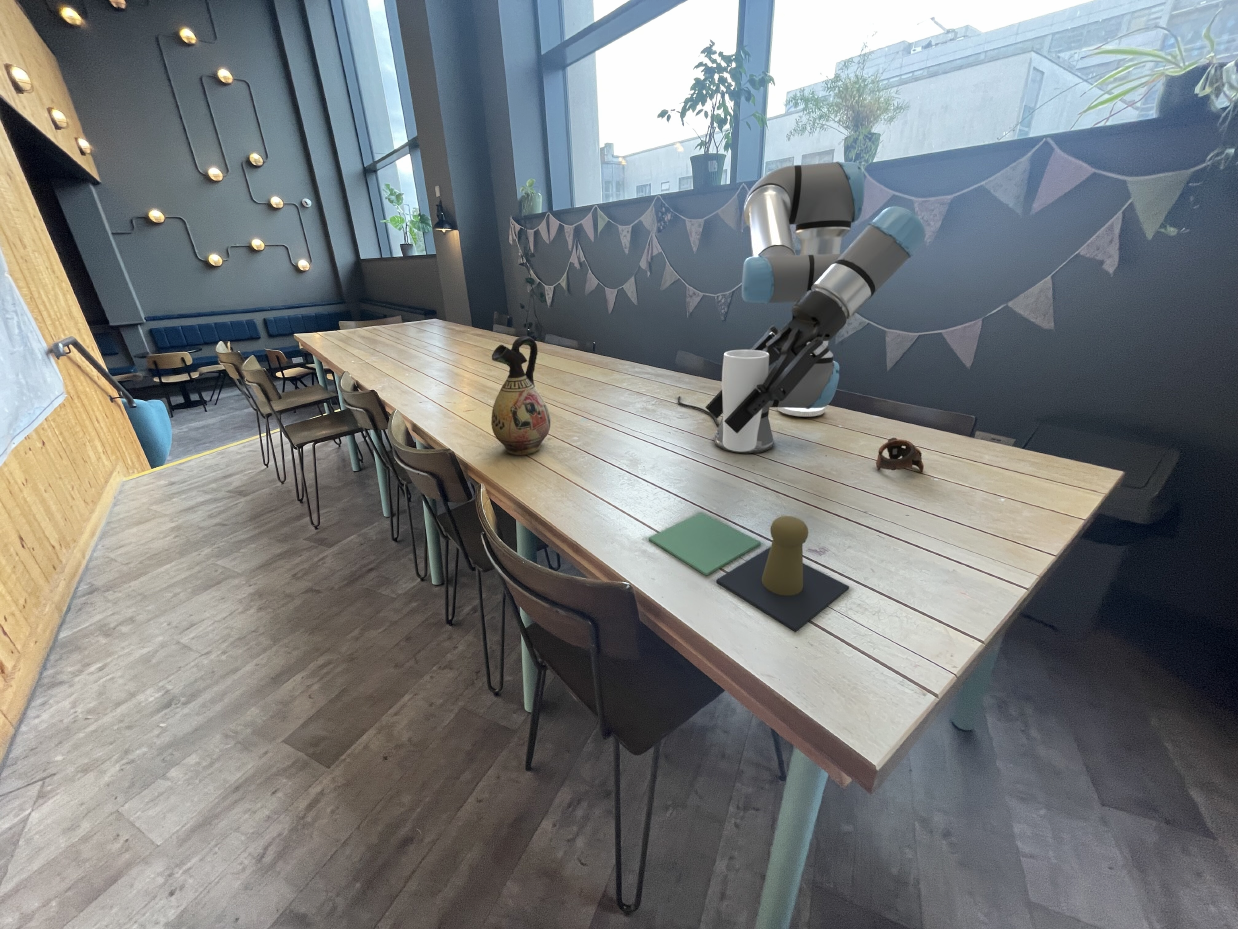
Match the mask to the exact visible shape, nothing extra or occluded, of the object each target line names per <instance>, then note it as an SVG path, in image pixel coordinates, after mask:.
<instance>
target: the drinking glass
mask: <svg viewBox="0 0 1238 929" xmlns="http://www.w3.org/2000/svg"><path fill="white" fill-rule="evenodd" d="M721 370H722V371H721V390H722V401H723V413H722V417H723V445H724V446H725V447H726V448H727V449H729V450H733V451H740V452H743V451H750V450H752V449H754V448H755V447H756V445H757V436H758V429H759V424H760V418H761V413H762V409H761V410H760V411H759V412H758V413H757V414H756V415H755V416H754V417H753V418H752V419H751V420H750V421H749V422H748V423H747V424H746V425H745V426H744V427H743V428H742V429H741V430H740V431H739V432H738V433H736V432H734V431H733V430H732V429H731V428H730V427H729V426H728V425H727V424H726V423H725V422H724V421H725V420H726V419H727V418H728V416H729V415H730V414H731V413H732V412H733V411H734V410H735V409H736V408H737V407H738V406H739V405H740V404H741V403H742V402H743V401H744V400H745V398H746V397H747V396H748V395H749V394H750V393H751V392H752V391H753V390H754V389H757V390H758V391H759V392H761V391H760V390H759V389H758V388H757V385H760V384H763V383H764V381H765V380H766V378H767V377H768V371H769V353H767V352H764V351H758V350H750V349H734V350H728V351H725V352H724V354H723V360H722V369H721Z"/></svg>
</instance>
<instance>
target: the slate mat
mask: <svg viewBox="0 0 1238 929" xmlns="http://www.w3.org/2000/svg"><path fill="white" fill-rule="evenodd" d="M770 548H771V546H769V547H768V548H766V549H765V550H763V551H761V552H759V553H758V554H756V555H755V556H753V557H751V558H750V559H748V560H747V561H745V562H743V563H741V564H740V565H738V566H737V567H734V568H733V569H731V570H730V571H727V573H725V574H723V575H721V576H719V577H718V578H717V579H716V580H715V582H716V584H718V585H720V586H721V587H723V588H725V589H726V590H728V591H729V592H731V593H733V594H735V596H738V597H739V598H741V599H742V600H744V601H746V602H747V603H749V604H750V605H752V606H753V607H755V608H757V609H758V610H759V611H762V612H763V613H765V614H766V615H768V616H769V617H771V618H773V619H774V620H775V621H777V622H778V623H781V624H782V625H784V626H785V627H787V628H788V629H790V630H792V631H793V632H797V631H799V630H800V629H801V628H803V627H804V626H805V625H806V624H807V623H809V622H810V621H811V620H812V619H813V618H814V617H816V616H817V615H819V614H820V613H821V612H822V611H824V610H825V609H826V608H827V607H828V606H829V605H831V604H833V602H835V600H837V599H839V598H840V597H841V596H842V595H844V593H845V592H847V591H848V590H850V586H849V585H847V584H845V583H844V582H841V581H839V580H837V579H835V578H833V577H832V576H829V575H828V574H826V573H824V572H822V571H819V570H817V569H815V568H813V567H811V566H809V565H807V564H806V563H804V562H803V588H802V591H801V592H799V593H798V594H795V595H790V596H785V595H779V594H776V593H773V592H771V591H769V590H768V589H767V588H766V587H765V586H764V585H763V583H762V576H763V573H764V569H765V566H766V562H767V559H768V555H769V552H770Z"/></svg>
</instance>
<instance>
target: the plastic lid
mask: <svg viewBox="0 0 1238 929" xmlns="http://www.w3.org/2000/svg"><path fill="white" fill-rule="evenodd" d="M825 409H826V406H825V407H823V408H810V409H806V408H777V410H778V412H780V413H782V414H786V415H789V416H795V417H816V416H821V415H823V414H825Z"/></svg>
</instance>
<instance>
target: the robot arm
mask: <svg viewBox="0 0 1238 929" xmlns="http://www.w3.org/2000/svg"><path fill="white" fill-rule="evenodd" d="M864 202H865V176H864V171H863V170H862V167H861V166H860V164H858V163H857V162H853V161H833V162H831V161H830V162H820V163H809V164H808V163H807V164H795V165H794V164H790V165H784V166H781V167H778V168H775V169H773V170H771V171H769V172H768V173H766V174H765V175H763V176H762V177H760V179H759V180H758V181H757V182H756V183H754V184H753V186H752V187H751V189H750V190H749V192H748V193H747V196H746V198H745V200H744V204H743V216H744V222H745V223H746V225H747V227H748V228H749V233H750V247H751V248H750V250H751V256H749V257H748V258H745V260H744V261H743V266H742V275H741V278H742V279H741V299H742V300H743V302H746V303H757V304H762V305H765V304H776V303H777V304H778V303H781V304H782V303H794V305H793V306H792V308H791V315H792V316H791V317H792V318H791V320H790V321H789V322H787V323H786V324H784V326H783V327H781V328H777V327H776V326H775V325H772V326H770V327H769V328H768V329H767V330H766V332H765V333H764V335H763V336H762V337H761V338H760V339H759V340H758V341H757V342H756V343H755V344H754V345H753V346H752V347H751V348H750V349H749V350H758V351H764V352H767V353H769V371H768V377H767V378H766V380H765V381H764V383H763V384H760V385H757V388H758V389H759V390H760V391H761V392H759V391H758V390H757V389H754V390H753V391H752V392H751V393H750V394H749V395H748V396H747V397H746V398H745V400H744V401H743V402H742V403H741V404H740V405H739V406H738V407H737V408H736V409H735V410H734V411H733V412H732V413H731V414H730V415H729V416H728V418H727V419H726V420H725V421H724V422H725V423H726V424H727V425H728V426H729V427H730V428H731V429H732V430H733V431H734V432H736V433H738V432H739V431H740V430H741V429H742V428H743V427H744V426H745V425H746V424H747V423H748V422H749V421H750V420H751V419H752V418H753V417H754V416H755V415H756V414H757V413H758V412H759V411H760V410H761V409H762V413H761V418H760V424H759V429H758V436H757V445H756V447H755V448H754V449H752V450H750V451H743V452H740V451H733V450H729V449H727V448H726V447H725V446H724V445H723V416H722V415H723V401H722V389H720V391H719V392H718V393H717V394H716V395H715V396H714V397H713V398H712V399H711V400H710V401H709V403H707V404H706V405H705V407H704V408H705V409H704V408H702V407H699V406H695V405H693V404H687V403H683V402H682V401H681V398H682V397H681V395H678V397H677V403H678V404H679V405H680V406H683V407H686V408H692V409H696V410H699V411H701V412H704V413H706V414H708V415H709V416H711V417H712V418H713V420H714V423H715V424H716V426H717V429H716V432H715V435H714V444H715V445H716V446H717V447H718V448H720V449H721V450H724V451H728V452H731V453H738V454H760V453H764V452H767V451H769V450H770V449H772V447H773V446H774V436H773V433H772V428H771V423H770V420H769V416H770V415H769V414H770V408H777V409H778V408H806V409H810V408H823V407H825V408H826V407H827V406H828V405H829V404H830V403H831V401H833V399H834V396H835V394H836V391H837V388H838V384H839V380H840V364H839V363H838V362H837V361H835V360H834V353H833V352H832V351H831V349H830V347H829V341H831V340H832V339H833V338H834V337H835V336H836V335H837V334H839V332H840V331H841V329H843V328H844V327H845V325H847V321H848V320H850V319H852V318H853V316H854V315H856V313H858V312H859V311H860V309H861V308H862V307H863V306H864V305H865V304H866V303H867V302H868V301H869V300H870V299H871V298H872V297H873V296H874V295H875V293H876V292H877V291H879V289H880V288H881V287H882V286H883V285H884V284H885V283H886V282H888V280H890V279H891V277H892V276H893V275H894V274H895V273H896V272H897V271H898V270H900V268H901V267H902V266H903V265H904V264H905V263H906V262H907V261H908V260H909V259H910V258H911V257H913V255H914V253H915V252H916V251H917V250H918V248H919V247H920V246H921V245H922V244H923V243H924V241H925V238H926V228H925V225H924V223H923V221H922V220H921V219H920V218H919V216H918V215H916V214H915V213H914V212H912V211H911V210H909V209H908V208H906V207H901V206H889V207H887V208H885V209H883V210H882V211H881V212H880V213H879V214H878V215H877V216H876V217H875V218H874V219H872V220H871V221H870V222H869V223H868V225H867V226H866V227H865V228H864V229H863V231H862V232H861V233H860V234H859V235H858V236H857V237H856V238H855V239H854V240H853V241H852V242H851V244H849V246H848V247H847V248H846V249H845V250H844V251H843V253H841V250H842V249H841V248H842V241H843V238H844V237H845V236H846V235H847V234H848V233H849V232H850V231H851V228H852V224H853V223H855V222H857V221H859V219H860V218H861V215H862V212H863V206H864ZM791 225H795V230H794V231H795V232H794V233H795V236H797V238H798V239H799V240H800V252H799V254H796V249H795V248H796V247H795V244H794V238H793V234H792V230H791V229H792V228H791ZM720 416H722V417H721V419H720V421H718V419H719V418H720Z"/></svg>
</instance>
